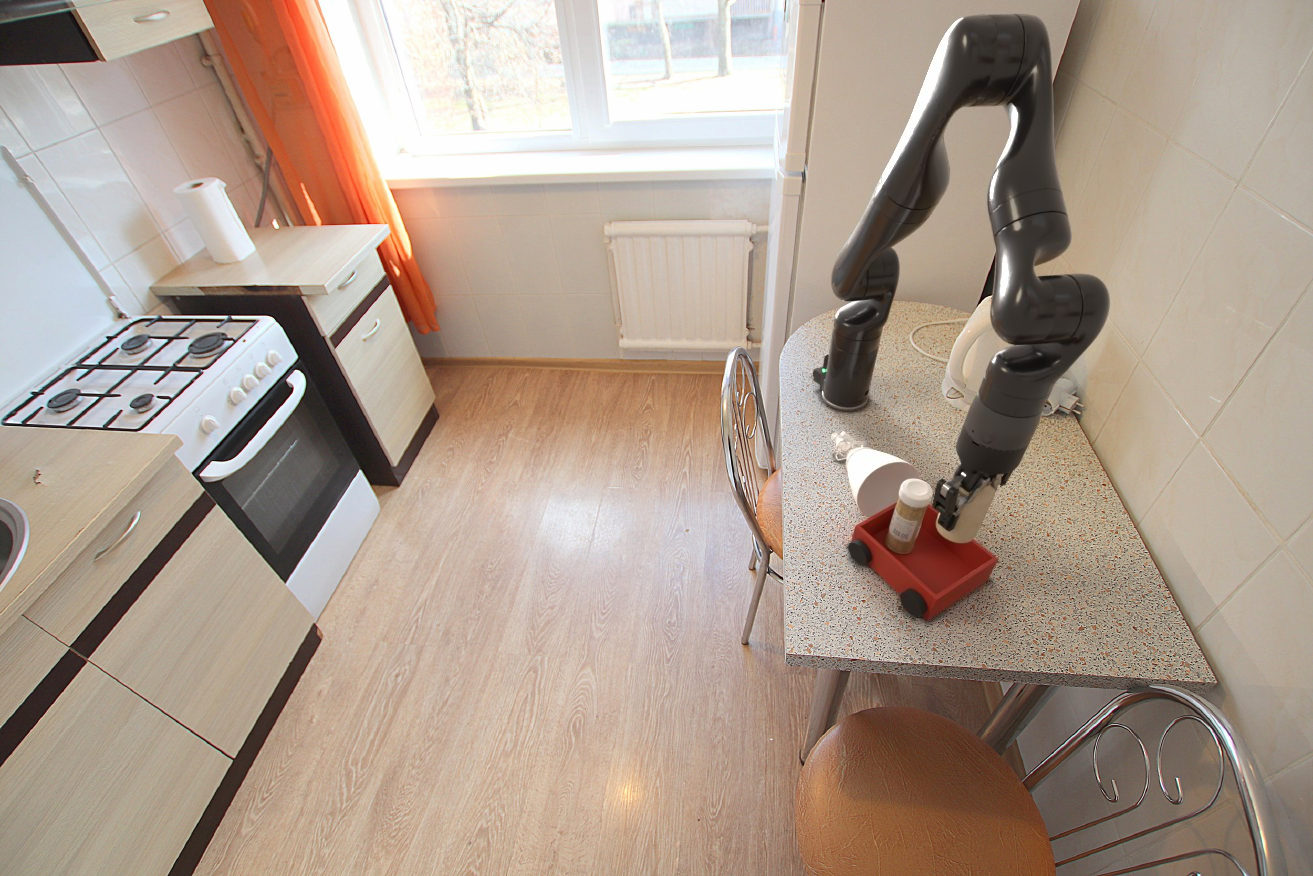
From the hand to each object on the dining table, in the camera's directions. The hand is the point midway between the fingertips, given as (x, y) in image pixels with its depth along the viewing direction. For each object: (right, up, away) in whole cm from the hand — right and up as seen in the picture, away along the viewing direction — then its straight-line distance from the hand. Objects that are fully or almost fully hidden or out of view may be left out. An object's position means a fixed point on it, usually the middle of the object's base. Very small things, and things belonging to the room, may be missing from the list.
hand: (960, 517), depth 86 cm
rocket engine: (-4, +3, +26) cm, 26 cm away
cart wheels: (-1, -9, +12) cm, 15 cm away
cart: (-1, -9, +12) cm, 15 cm away
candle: (0, -2, +2) cm, 3 cm away
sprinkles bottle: (-3, -6, +15) cm, 16 cm away
